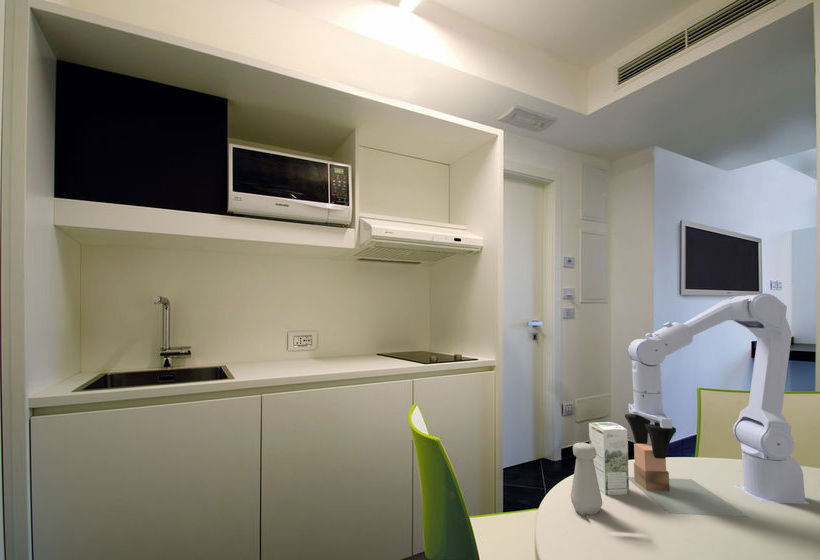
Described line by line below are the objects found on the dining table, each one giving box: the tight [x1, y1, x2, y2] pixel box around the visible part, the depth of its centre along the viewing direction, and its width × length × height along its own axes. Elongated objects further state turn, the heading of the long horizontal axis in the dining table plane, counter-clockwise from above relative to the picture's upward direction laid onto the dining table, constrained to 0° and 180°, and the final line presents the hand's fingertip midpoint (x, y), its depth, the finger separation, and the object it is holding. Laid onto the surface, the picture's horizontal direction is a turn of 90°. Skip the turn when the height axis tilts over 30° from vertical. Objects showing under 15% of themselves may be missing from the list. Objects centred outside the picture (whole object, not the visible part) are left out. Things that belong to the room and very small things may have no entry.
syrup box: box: [588, 421, 630, 496], centre depth 87 cm, size 6×6×14 cm
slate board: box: [629, 476, 749, 517], centre depth 84 cm, size 15×17×1 cm
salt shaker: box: [570, 442, 603, 517], centre depth 78 cm, size 6×6×13 cm
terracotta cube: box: [633, 443, 667, 472], centre depth 88 cm, size 4×4×4 cm
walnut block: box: [633, 462, 670, 491], centre depth 88 cm, size 5×5×4 cm
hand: (650, 451), depth 89 cm, fingers open, 7 cm apart
